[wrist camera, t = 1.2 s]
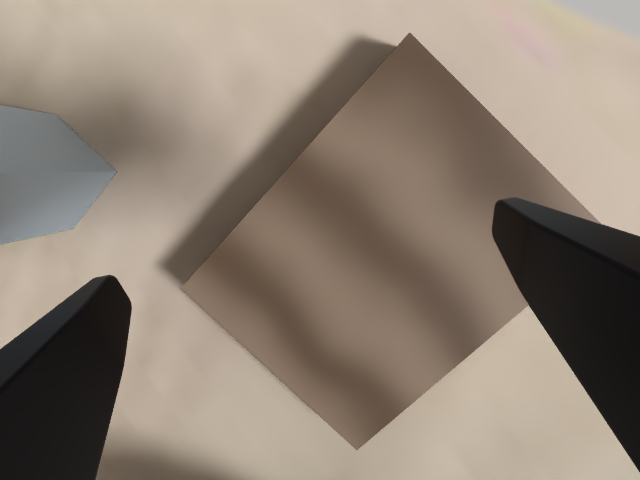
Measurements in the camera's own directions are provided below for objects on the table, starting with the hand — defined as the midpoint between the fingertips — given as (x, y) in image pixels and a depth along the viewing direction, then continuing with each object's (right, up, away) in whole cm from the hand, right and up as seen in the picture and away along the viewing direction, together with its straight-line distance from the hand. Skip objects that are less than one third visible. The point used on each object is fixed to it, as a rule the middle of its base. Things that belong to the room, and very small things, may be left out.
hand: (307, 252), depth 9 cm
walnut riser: (+4, -1, +14) cm, 15 cm away
